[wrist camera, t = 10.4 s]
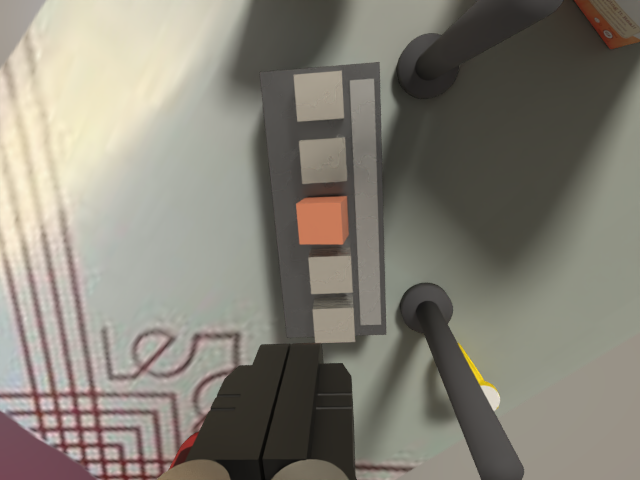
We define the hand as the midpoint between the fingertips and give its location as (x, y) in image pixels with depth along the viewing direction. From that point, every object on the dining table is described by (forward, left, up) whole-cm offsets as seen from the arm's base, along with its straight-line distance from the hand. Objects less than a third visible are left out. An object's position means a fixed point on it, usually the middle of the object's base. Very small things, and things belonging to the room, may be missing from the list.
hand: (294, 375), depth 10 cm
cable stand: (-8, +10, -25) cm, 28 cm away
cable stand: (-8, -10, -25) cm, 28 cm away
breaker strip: (0, 0, -25) cm, 25 cm away
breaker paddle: (0, 0, -19) cm, 19 cm away
